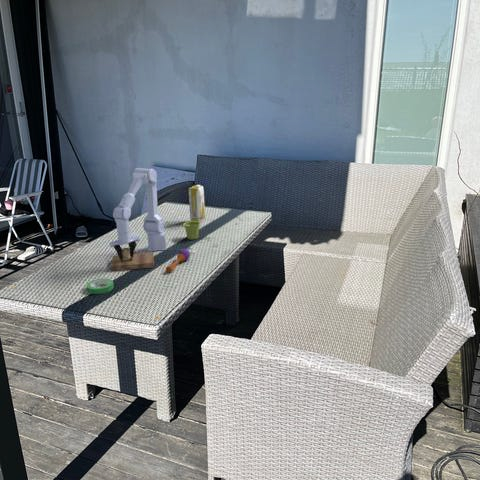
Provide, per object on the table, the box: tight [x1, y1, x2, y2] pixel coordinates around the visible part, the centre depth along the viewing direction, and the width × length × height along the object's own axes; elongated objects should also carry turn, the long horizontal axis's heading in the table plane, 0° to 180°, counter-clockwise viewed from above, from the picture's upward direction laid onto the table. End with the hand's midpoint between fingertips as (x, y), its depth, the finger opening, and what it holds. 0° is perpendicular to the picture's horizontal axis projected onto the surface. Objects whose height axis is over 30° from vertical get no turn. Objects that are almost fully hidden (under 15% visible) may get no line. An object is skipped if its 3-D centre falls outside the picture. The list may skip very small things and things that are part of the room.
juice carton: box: [188, 184, 206, 225], centre depth 287 cm, size 9×8×24 cm
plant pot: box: [182, 220, 201, 240], centre depth 260 cm, size 9×9×9 cm
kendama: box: [165, 248, 191, 274], centre depth 222 cm, size 6×6×20 cm
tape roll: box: [86, 277, 115, 295], centre depth 198 cm, size 11×11×3 cm
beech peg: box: [121, 247, 131, 262], centre depth 223 cm, size 4×4×8 cm
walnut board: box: [110, 252, 155, 272], centre depth 224 cm, size 20×14×2 cm
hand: (126, 257), depth 223 cm, fingers open, 5 cm apart
